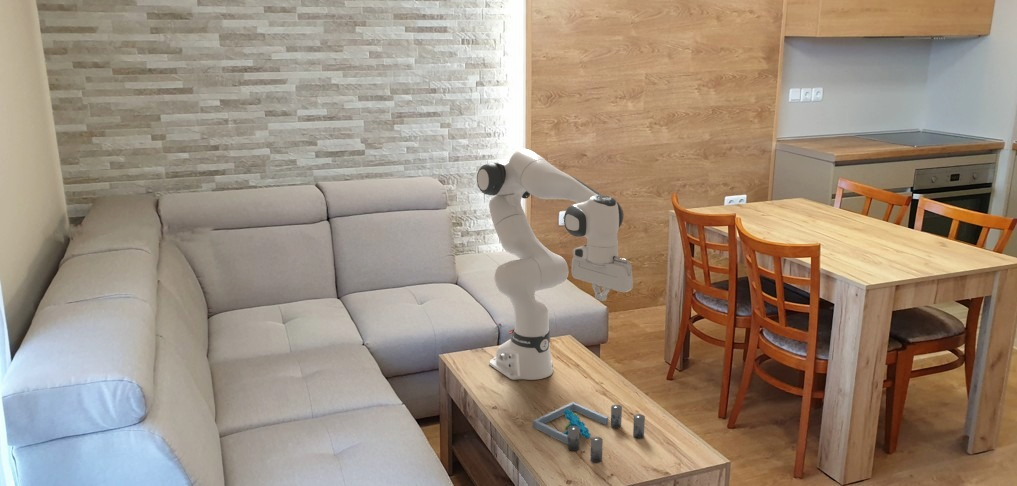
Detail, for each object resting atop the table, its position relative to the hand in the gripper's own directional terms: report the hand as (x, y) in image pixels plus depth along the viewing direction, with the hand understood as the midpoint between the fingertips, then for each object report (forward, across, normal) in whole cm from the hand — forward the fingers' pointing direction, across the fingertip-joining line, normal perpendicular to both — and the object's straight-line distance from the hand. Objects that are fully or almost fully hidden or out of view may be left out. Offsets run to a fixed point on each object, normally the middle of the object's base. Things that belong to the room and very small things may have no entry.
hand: (600, 299), depth 224 cm
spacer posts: (+34, -15, +14) cm, 40 cm away
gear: (+34, -6, +17) cm, 39 cm away
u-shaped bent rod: (+34, -2, +14) cm, 37 cm away
